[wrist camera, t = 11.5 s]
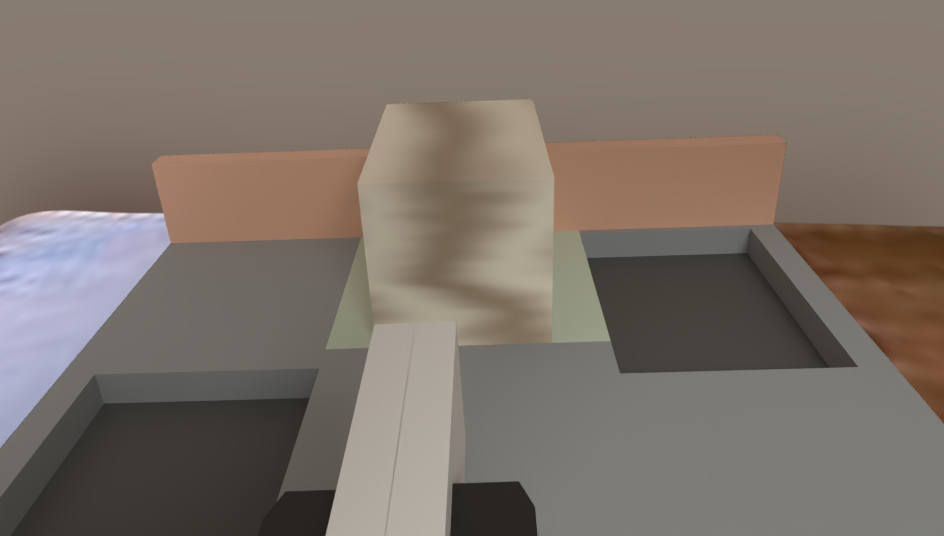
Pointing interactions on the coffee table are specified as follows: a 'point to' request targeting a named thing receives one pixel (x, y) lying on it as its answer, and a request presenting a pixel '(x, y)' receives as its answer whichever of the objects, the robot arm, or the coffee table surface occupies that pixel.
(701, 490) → the box
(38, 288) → the coffee table surface
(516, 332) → the block
